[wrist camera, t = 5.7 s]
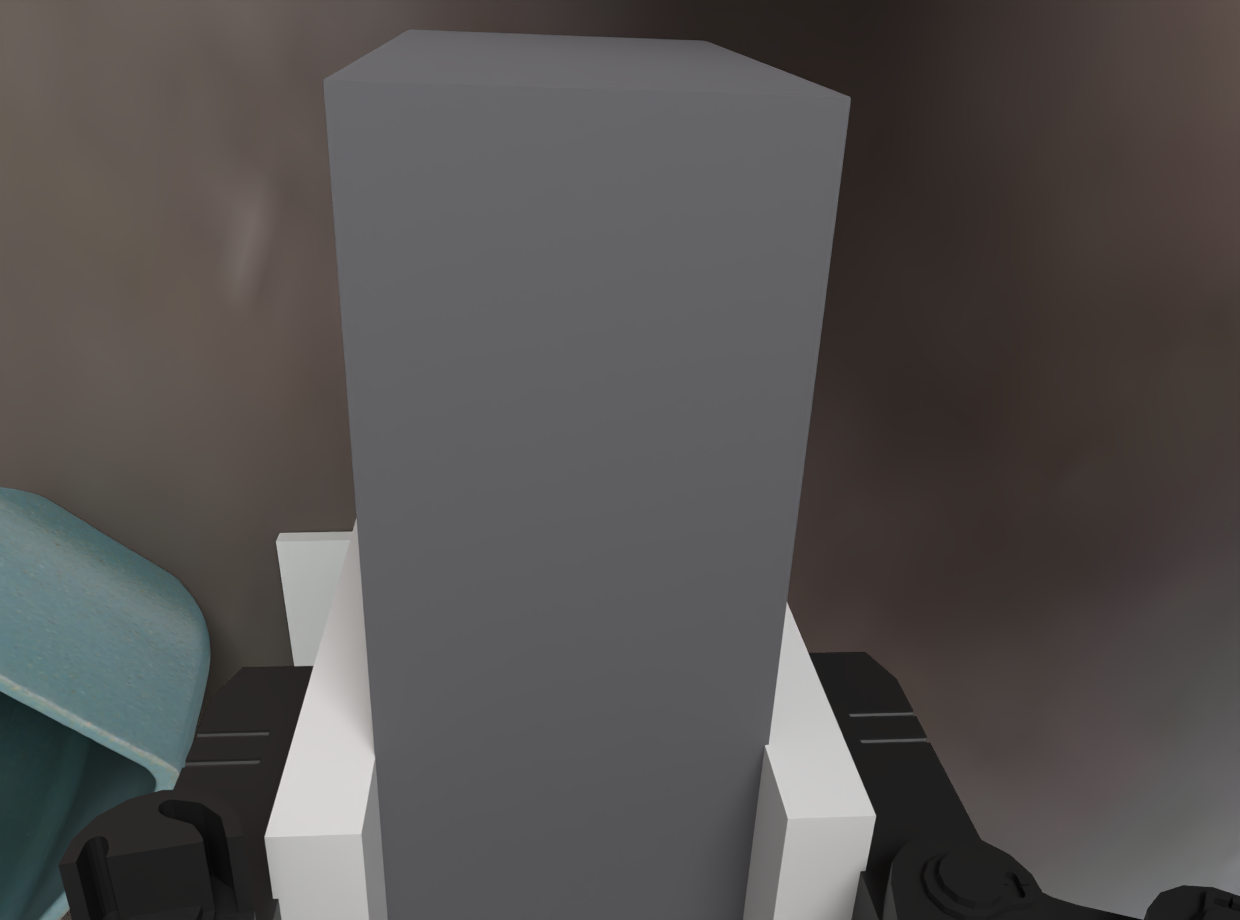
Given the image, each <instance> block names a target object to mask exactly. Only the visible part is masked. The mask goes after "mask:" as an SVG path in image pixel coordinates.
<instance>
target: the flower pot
mask: <svg viewBox="0 0 1240 920" xmlns="http://www.w3.org/2000/svg"><path fill="white" fill-rule="evenodd" d="M210 657H211V652H210V640H209V633H208V629H207V626H206V622H205V619H204V617H203V614H202V612H201V610H200V608H199V607H198V605H197V603H196V602H195V600H194V598H193V597H192V596H191V594H190V593H189V592H188V591H187V589H186V588H185V587H184V586H183V585H182V584H181V582H180V581H179V580H178V579H177V578H176V577H175V576H173V575H171V574H170V573H168V572H167V571H165V570H163V569H162V568H160V567H158V566H157V565H155V564H153V563H152V562H150V561H148V560H147V559H145V558H143V557H142V556H140V555H138V554H137V553H135V552H133V551H132V550H130V549H128V548H127V547H125V546H123V545H121V544H120V543H118V542H116V541H115V540H113V539H111V538H110V537H108V536H106V535H105V534H103V533H102V532H100V531H98V530H97V529H95V528H93V527H92V526H90V525H89V524H87V523H85V522H84V521H82V520H81V519H79V518H77V517H76V516H74V515H73V514H71V513H69V512H68V511H66V510H65V509H63V508H61V507H60V506H58V505H57V504H55V503H53V502H52V501H50V500H48V499H46V498H44V497H42V496H40V495H37V494H34V493H29V492H25V491H21V490H17V489H10V488H1V487H0V920H60V919H61V918H62V917H63V916H64V915H65V914H66V913H67V911H69V905H68V901H67V897H66V893H65V890H64V886H63V882H62V878H61V874H60V870H59V866H58V864H59V862H60V861H61V859H62V857H63V855H64V853H65V851H66V849H67V847H68V845H69V844H70V842H71V840H72V839H73V838H74V837H75V836H76V835H77V834H78V833H79V832H80V831H81V830H82V829H83V828H84V827H86V826H87V825H88V824H89V823H90V822H91V821H92V820H93V819H94V818H95V817H96V816H98V815H100V814H102V813H104V812H106V811H107V810H109V809H111V808H113V807H115V806H117V805H119V804H120V803H122V802H124V801H126V800H128V799H131V798H135V797H138V796H142V795H146V794H150V793H153V792H157V791H161V790H173V789H174V786H175V784H176V781H177V779H178V777H179V774H180V772H181V769H182V767H185V760H186V757H187V755H188V753H189V750H190V748H191V745H192V743H193V740H194V735H195V731H196V727H197V722H198V718H199V714H200V711H201V706H202V702H203V698H204V693H205V689H206V684H207V679H208V674H209V667H210Z"/></svg>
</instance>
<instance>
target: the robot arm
mask: <svg viewBox="0 0 1240 920" xmlns="http://www.w3.org/2000/svg"><path fill="white" fill-rule="evenodd" d="M926 737H927V736H926V734H925V732H924V730H923V728H922V726H921V725H920V723H919V721H918V719H917V717H916V716H913V709H912V707H911V706H910V704H909V702H908V700H907V698H906V696H905V694H904V692H903V690H902V688H901V686H900V685H899V683H898V681H897V679H896V678H895V677H894V676H893V675H891V674H890V673H889V672H888V671H887V670H886V669H884V668H883V667H882V666H881V665H880V664H879V663H877V662H876V661H875V660H874V659H873V658H872V657H870V656H869V655H868V654H867V653H866V652H836V653H808V651H807V649H806V647H805V644H804V642H803V639H802V637H801V635H800V632H799V630H798V627H797V625H796V623H795V620H794V618H793V615H792V613H791V611H790V608H789V606H788V603H787V605H786V613H785V621H784V628H783V636H782V644H781V652H780V660H779V668H778V676H777V683H776V691H775V699H774V707H773V715H772V723H771V730H770V738H769V745H765V748H764V756H763V764H762V772H761V780H760V788H759V796H758V804H757V812H756V819H755V827H754V835H753V843H752V851H751V859H750V867H749V875H748V883H747V891H746V899H745V907H744V915H743V920H1141V919H1137V918H1132V917H1128V916H1123V915H1119V914H1115V913H1110V912H1106V911H1101V910H1097V909H1092V908H1088V907H1084V906H1079V905H1075V904H1072V903H1069V902H1066V901H1062V900H1059V899H1056V898H1053V897H1051V896H1049V895H1046V894H1044V893H1042V891H1041V889H1040V887H1039V886H1038V884H1037V882H1036V881H1035V879H1034V877H1033V875H1032V874H1031V873H1030V872H1028V871H1027V870H1026V869H1025V868H1024V867H1023V866H1022V865H1021V864H1020V863H1018V862H1017V861H1016V860H1015V859H1014V858H1013V857H1012V856H1011V855H1009V854H1008V853H1006V852H1004V851H1002V850H1000V849H998V848H996V847H994V846H992V845H990V844H988V843H986V842H984V841H982V840H981V839H980V837H979V835H978V833H977V831H976V829H975V827H974V825H973V824H972V822H971V820H970V818H969V816H968V814H967V812H966V810H965V808H964V806H963V805H962V803H961V801H960V799H959V797H958V795H957V793H956V791H955V789H954V787H953V785H952V784H951V782H950V780H949V778H948V776H947V774H946V772H945V770H944V768H943V766H942V765H941V763H940V761H939V759H938V757H937V755H936V753H935V751H934V749H933V747H932V746H931V744H930V743H927V739H926ZM58 866H59V870H60V874H61V878H62V882H63V886H64V890H65V893H66V897H67V901H68V905H69V909H70V913H71V916H72V920H388V918H387V905H386V892H385V878H384V865H383V852H382V839H381V826H380V813H379V800H378V787H377V773H376V760H375V753H374V740H373V727H372V714H371V701H370V688H369V675H368V662H367V649H366V636H365V623H364V610H363V596H362V583H361V570H360V557H359V544H358V531H357V518H356V521H355V525H354V528H353V532H352V535H351V538H350V542H349V545H348V549H347V552H346V556H345V559H344V563H343V566H342V570H341V573H340V577H339V580H338V584H337V587H336V591H335V594H334V598H333V601H332V604H331V608H330V611H329V615H328V618H327V622H326V625H325V629H324V632H323V636H322V639H321V643H320V646H319V650H318V653H317V657H316V660H315V663H314V666H282V667H243V668H242V669H241V670H240V671H238V672H237V673H236V674H235V675H234V676H233V677H232V678H231V679H230V680H229V681H228V682H227V683H226V684H225V685H224V686H223V687H222V688H221V689H220V690H219V691H217V692H216V693H215V694H214V695H213V696H212V697H211V699H210V702H209V704H208V707H207V709H206V712H205V714H204V716H203V719H202V721H201V724H200V726H199V728H198V731H197V738H194V740H193V743H192V745H191V748H190V750H189V753H188V755H187V757H186V760H185V767H182V769H181V772H180V774H179V777H178V779H177V781H176V784H175V786H174V789H173V790H161V791H157V792H153V793H150V794H146V795H142V796H138V797H135V798H131V799H128V800H126V801H124V802H122V803H120V804H119V805H117V806H115V807H113V808H111V809H109V810H107V811H106V812H104V813H102V814H100V815H98V816H96V817H95V818H94V819H93V820H92V821H91V822H90V823H89V824H88V825H87V826H86V827H84V828H83V829H82V830H81V831H80V832H79V833H78V834H77V835H76V836H75V837H74V838H73V839H72V840H71V842H70V844H69V845H68V847H67V849H66V851H65V853H64V855H63V857H62V859H61V861H60V862H59V864H58ZM1144 920H1240V896H1238V895H1235V894H1231V893H1228V892H1225V891H1222V890H1219V889H1216V888H1213V887H1200V886H1185V885H1183V886H1180V887H1177V888H1173V889H1170V890H1167V891H1164V892H1161V893H1160V894H1159V895H1158V896H1157V898H1156V899H1155V900H1154V901H1153V903H1152V904H1151V905H1150V906H1149V908H1148V909H1147V912H1146V915H1145V918H1144Z"/></svg>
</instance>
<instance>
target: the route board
mask: <svg viewBox="0 0 1240 920" xmlns="http://www.w3.org/2000/svg"><path fill="white" fill-rule="evenodd" d="M352 532H353V531H352ZM352 532H305V533H279V536H278V538H277V540H276V545H277V552H278V559H279V566H280V572H281V579H282V586H283V593H284V600H285V606H286V613H287V620H288V627H289V634H290V640H291V647H292V654H293V661H294V666H314V663H315V660H316V657H317V653H318V650H319V646H320V643H321V639H322V636H323V632H324V629H325V625H326V622H327V618H328V615H329V611H330V608H331V604H332V601H333V598H334V594H335V591H336V587H337V584H338V580H339V577H340V573H341V570H342V566H343V563H344V559H345V556H346V552H347V549H348V545H349V542H350V538H351V535H352Z"/></svg>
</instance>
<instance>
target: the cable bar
mask: <svg viewBox="0 0 1240 920" xmlns="http://www.w3.org/2000/svg"><path fill="white" fill-rule="evenodd" d="M323 86H324V99H325V112H326V125H327V138H328V152H329V165H330V178H331V191H332V204H333V217H334V230H335V243H336V256H337V269H338V282H339V295H340V309H341V322H342V335H343V348H344V361H345V374H346V387H347V400H348V413H349V426H350V439H351V452H352V466H353V479H354V492H355V505H356V518H357V531H358V544H359V557H360V570H361V583H362V596H363V610H364V623H365V636H366V649H367V662H368V675H369V688H370V701H371V714H372V727H373V740H374V753H375V760H376V773H377V787H378V800H379V813H380V826H381V839H382V852H383V865H384V878H385V892H386V905H387V918H388V920H743V915H744V907H745V899H746V891H747V883H748V875H749V867H750V859H751V851H752V843H753V835H754V827H755V819H756V812H757V804H758V796H759V788H760V780H761V772H762V764H763V756H764V748H765V745H769V738H770V730H771V723H772V715H773V707H774V699H775V691H776V683H777V676H778V668H779V660H780V652H781V644H782V636H783V628H784V621H785V613H786V605H787V597H788V589H789V581H790V574H791V566H792V558H793V550H794V542H795V534H796V527H797V519H798V511H799V503H800V495H801V487H802V480H803V472H804V464H805V456H806V448H807V440H808V432H809V425H810V417H811V409H812V401H813V393H814V385H815V378H816V370H817V362H818V354H819V346H820V338H821V331H822V323H823V315H824V307H825V299H826V291H827V283H828V276H829V268H830V260H831V252H832V244H833V236H834V229H835V221H836V213H837V205H838V197H839V189H840V182H841V174H842V166H843V158H844V150H845V142H846V134H847V127H848V119H849V111H850V103H851V97H849V96H847V95H844V94H841V93H839V92H836V91H834V90H831V89H828V88H826V87H823V86H821V85H818V84H816V83H813V82H810V81H808V80H805V79H803V78H800V77H798V76H795V75H792V74H790V73H787V72H785V71H782V70H780V69H777V68H774V67H772V66H769V65H767V64H764V63H762V62H759V61H756V60H754V59H751V58H749V57H746V56H744V55H741V54H738V53H736V52H733V51H731V50H728V49H726V48H723V47H720V46H718V45H715V44H713V43H710V42H708V41H699V40H673V39H646V38H620V37H594V36H567V35H541V34H515V33H488V32H462V31H435V30H407V31H405V32H404V33H402V34H400V35H398V36H397V37H395V38H393V39H392V40H390V41H388V42H387V43H385V44H383V45H382V46H380V47H378V48H376V49H375V50H373V51H371V52H370V53H368V54H366V55H365V56H363V57H361V58H359V59H358V60H356V61H354V62H353V63H351V64H349V65H348V66H346V67H344V68H342V69H341V70H339V71H337V72H336V73H334V74H332V75H331V76H329V77H327V78H325V79H324V80H323Z"/></svg>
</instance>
